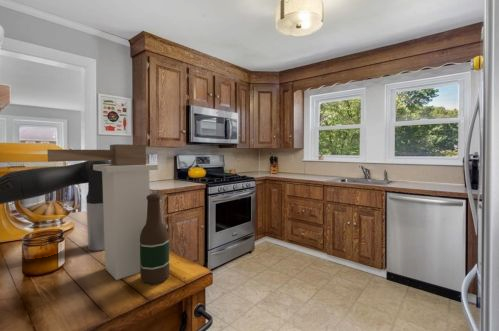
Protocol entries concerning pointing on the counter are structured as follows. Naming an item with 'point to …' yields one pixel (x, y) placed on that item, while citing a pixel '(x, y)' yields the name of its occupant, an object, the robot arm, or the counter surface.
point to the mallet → (104, 155)
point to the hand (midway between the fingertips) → (13, 180)
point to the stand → (124, 215)
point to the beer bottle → (154, 245)
